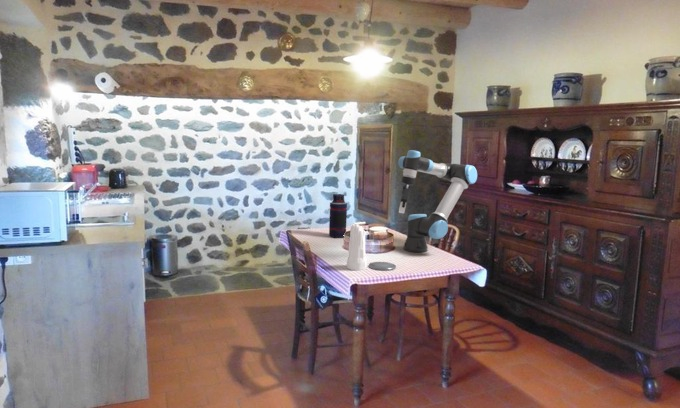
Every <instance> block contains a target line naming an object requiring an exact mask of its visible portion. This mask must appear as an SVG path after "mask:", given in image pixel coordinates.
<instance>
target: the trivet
mask: <svg viewBox="0 0 680 408" xmlns="http://www.w3.org/2000/svg"><path fill="white" fill-rule="evenodd" d="M368 267H369V268H370V269H372V270H375V271H382V272H384V271H385V272H387V271H389V272H390V271H394V270H395V269H397V266H396V264H395V263H391V262H386V261H373V262H370V263H368Z"/></svg>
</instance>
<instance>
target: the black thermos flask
mask: <svg viewBox="0 0 680 408" xmlns="http://www.w3.org/2000/svg"><path fill="white" fill-rule="evenodd" d="M332 198H333V199H332V201H331V202H330V203H329V221H328V222H329V227H328V228H329V230H328V233H329V236H330V237H332V238H333V239H337V238H340V237H341V238H343V235H344V233H345V232H346V233H347V213H348V211H347V210H348V203H347V202H346V201H345V194H342V193H335V194H332Z"/></svg>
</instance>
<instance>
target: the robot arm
mask: <svg viewBox="0 0 680 408" xmlns="http://www.w3.org/2000/svg"><path fill="white" fill-rule="evenodd" d="M421 153H422V152H420V151H418V150H413V149H410V150H408V151H407V154H406V156H405V155H404V156H401V157H399V159H398V162H397V164H398V166H399V168H400V169H402V172H403V173H402V175H403V176H402V178H401V183H402V184H405V185H404V186H402V195H401V199H400V204H399V209H398V213H400V214H405V212H406V207H407V202H408V197H409V194H410V190H411V186H414V185H415V181H416V178H417V174H418V172H420V173H425V174H429V175H434V176H436V177H437V178H439V179H444V180H446V181H449V182H451V183H450V185H449V187H448V188H447V190H446V191H445V193H444V196H443V197H442V199H441V201H440V202H439V204H438V206H437V207H436V209H435V211H434V212H432V213H430V214H429V216H427V214H426V213H415V214H409V215H408V217H407V230H406V239H405V242H404V244H403V250H404V251H406V252H411V253H425V252H428V250H429V247H428V244H427V239H426V237H427V238H431V239H434V240H435V239H436V240H438V239H439V240H440V239H442V238H444V237H445V236H446V234H447V233H448V231H449V225H448V223H449V222H448V218H449V216H450V214H451V212H452V211H453V210H454V208H455V206H456V204H457V202H458V201H459V199H460V197H461V196H462V193H463V191H464V190H467V189H468V188H469V186H470V185H474V184H475V183H476V182H477V180H478V171H477V169H476V167H475V166H474V165H470V164H462V163H461V164H459V163H443V162H440V163H438V162H433V160H432V159H429V158H426V157H423V156H421Z"/></svg>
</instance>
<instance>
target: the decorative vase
mask: <svg viewBox="0 0 680 408" xmlns="http://www.w3.org/2000/svg"><path fill="white" fill-rule="evenodd" d="M349 236H350V239H349V244H348V256H347V259H346V268H347V270H348V269H349V270H350V271H351V270H352V271H364V270H366V269H367V267H368V266H367V265H368V264H367V263H368V260H367V257H366V231H365V229H364V228H363V226H362V225H361V226H360V224H358V223H354V222H353V223H352V224H351V226H350V235H349Z"/></svg>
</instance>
